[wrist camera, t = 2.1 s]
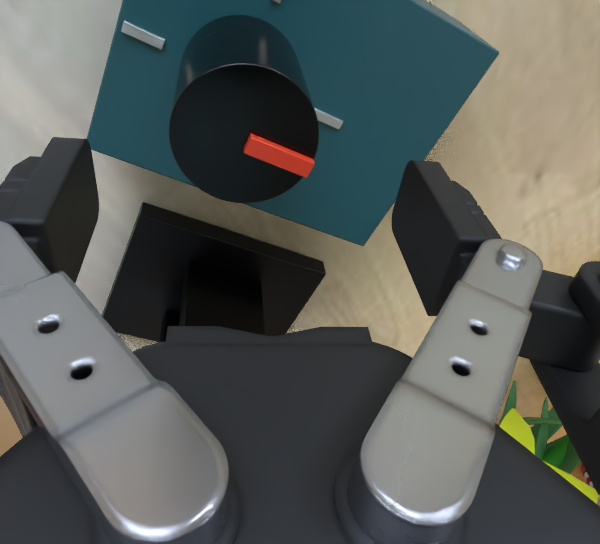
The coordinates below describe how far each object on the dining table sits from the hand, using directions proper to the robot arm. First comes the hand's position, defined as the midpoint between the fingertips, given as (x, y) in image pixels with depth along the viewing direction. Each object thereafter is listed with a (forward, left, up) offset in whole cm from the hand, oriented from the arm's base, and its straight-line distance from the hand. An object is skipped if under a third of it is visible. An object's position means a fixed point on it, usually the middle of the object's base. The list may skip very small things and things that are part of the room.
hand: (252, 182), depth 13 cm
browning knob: (0, 0, -7) cm, 7 cm away
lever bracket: (+4, -14, -12) cm, 19 cm away
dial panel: (+2, 0, -12) cm, 12 cm away
